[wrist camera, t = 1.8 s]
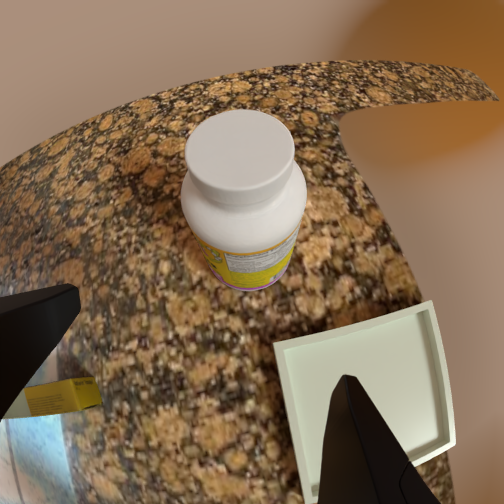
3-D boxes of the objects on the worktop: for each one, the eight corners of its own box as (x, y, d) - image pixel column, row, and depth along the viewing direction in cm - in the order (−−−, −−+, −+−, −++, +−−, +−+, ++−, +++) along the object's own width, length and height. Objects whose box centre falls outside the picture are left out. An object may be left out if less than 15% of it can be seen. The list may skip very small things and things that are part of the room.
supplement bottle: (205, 221, 25) (167, 105, 13) (283, 212, 25) (299, 91, 13) (210, 298, 22) (158, 222, 10) (296, 288, 23) (336, 201, 11)
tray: (302, 496, 16) (305, 504, 15) (272, 344, 21) (273, 342, 19) (446, 441, 17) (455, 444, 15) (422, 304, 22) (431, 299, 20)
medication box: (18, 417, 18) (-7, 420, 14) (11, 392, 19) (-15, 392, 15) (105, 405, 19) (80, 411, 16) (96, 374, 20) (69, 375, 16)
